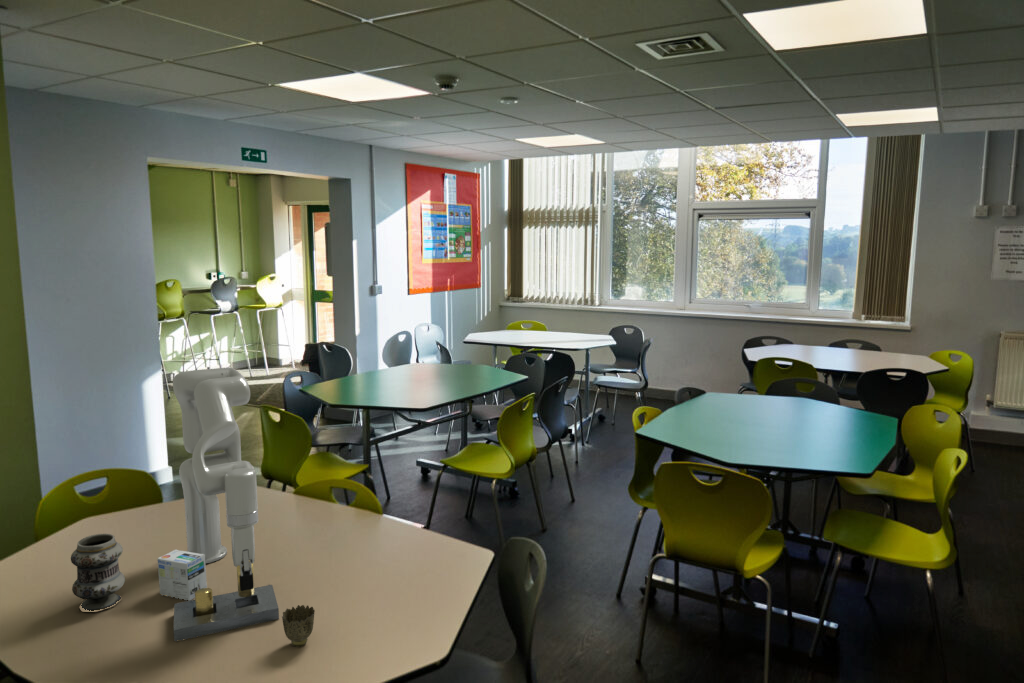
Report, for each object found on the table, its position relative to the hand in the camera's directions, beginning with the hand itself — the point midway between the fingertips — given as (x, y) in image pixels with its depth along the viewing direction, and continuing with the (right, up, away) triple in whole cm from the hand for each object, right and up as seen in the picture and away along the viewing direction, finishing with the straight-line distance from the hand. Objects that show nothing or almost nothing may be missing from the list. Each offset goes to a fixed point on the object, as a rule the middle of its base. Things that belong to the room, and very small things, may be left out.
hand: (246, 584), depth 176 cm
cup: (+18, -9, -14) cm, 24 cm away
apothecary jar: (-41, -7, +6) cm, 42 cm away
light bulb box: (-22, -7, +12) cm, 26 cm away
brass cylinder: (0, -2, 0) cm, 2 cm away
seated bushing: (-9, -8, -3) cm, 13 cm away
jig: (-5, -8, -1) cm, 9 cm away
